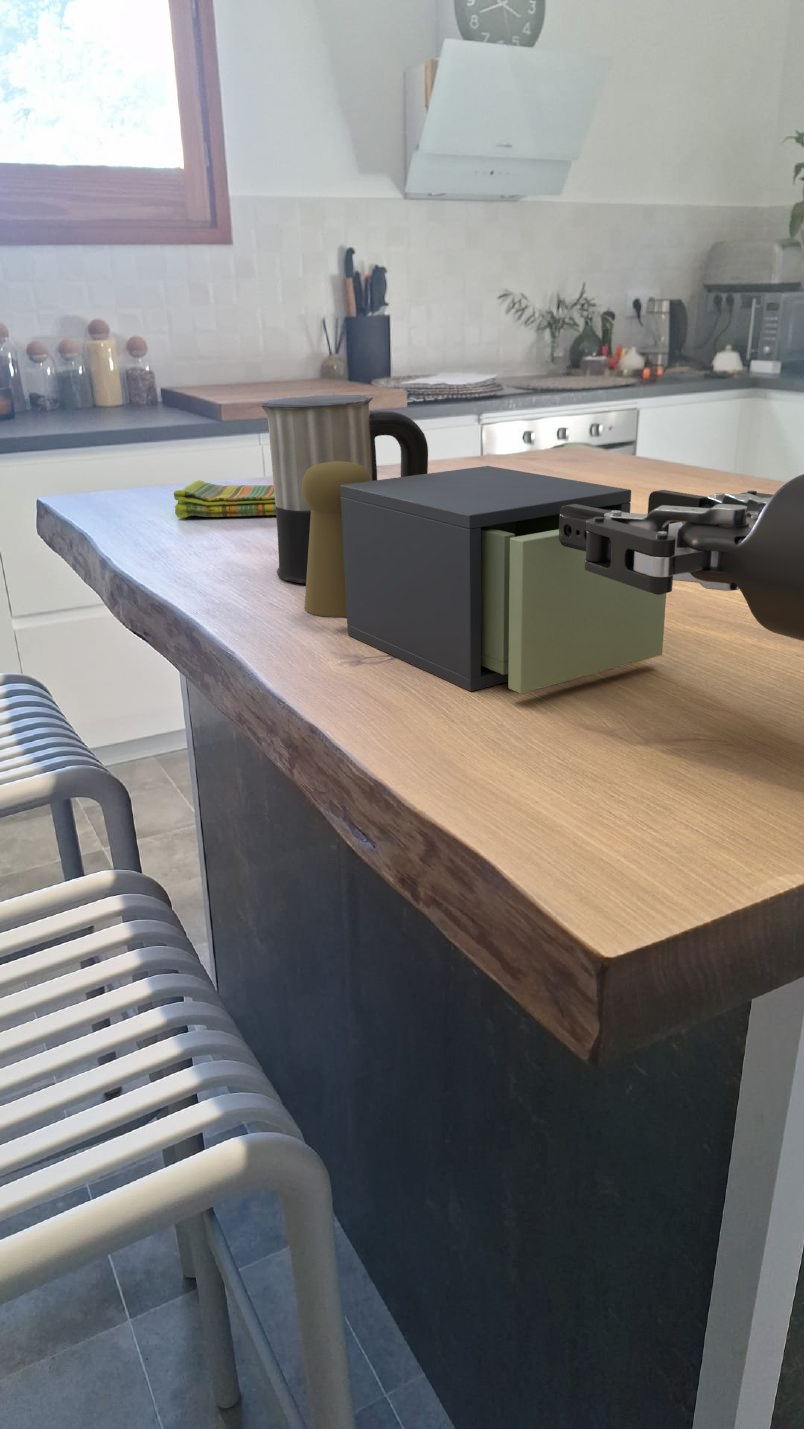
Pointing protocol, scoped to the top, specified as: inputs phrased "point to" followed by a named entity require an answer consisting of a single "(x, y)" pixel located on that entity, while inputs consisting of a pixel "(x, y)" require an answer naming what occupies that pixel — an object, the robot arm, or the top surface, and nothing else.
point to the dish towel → (224, 500)
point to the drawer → (558, 609)
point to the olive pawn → (327, 535)
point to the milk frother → (327, 457)
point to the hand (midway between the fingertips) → (609, 516)
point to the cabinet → (439, 558)
